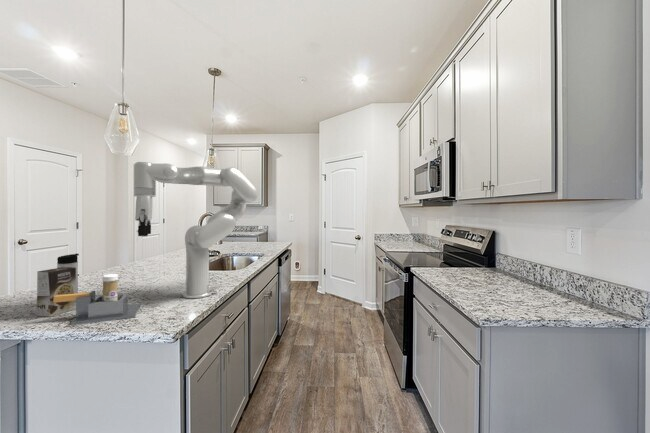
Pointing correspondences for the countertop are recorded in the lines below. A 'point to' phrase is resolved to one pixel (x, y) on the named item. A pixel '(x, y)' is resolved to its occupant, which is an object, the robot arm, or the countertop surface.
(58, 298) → the lock bar
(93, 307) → the dock
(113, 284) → the sprinkles bottle
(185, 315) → the countertop surface
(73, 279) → the coffee box
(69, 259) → the travel mug
